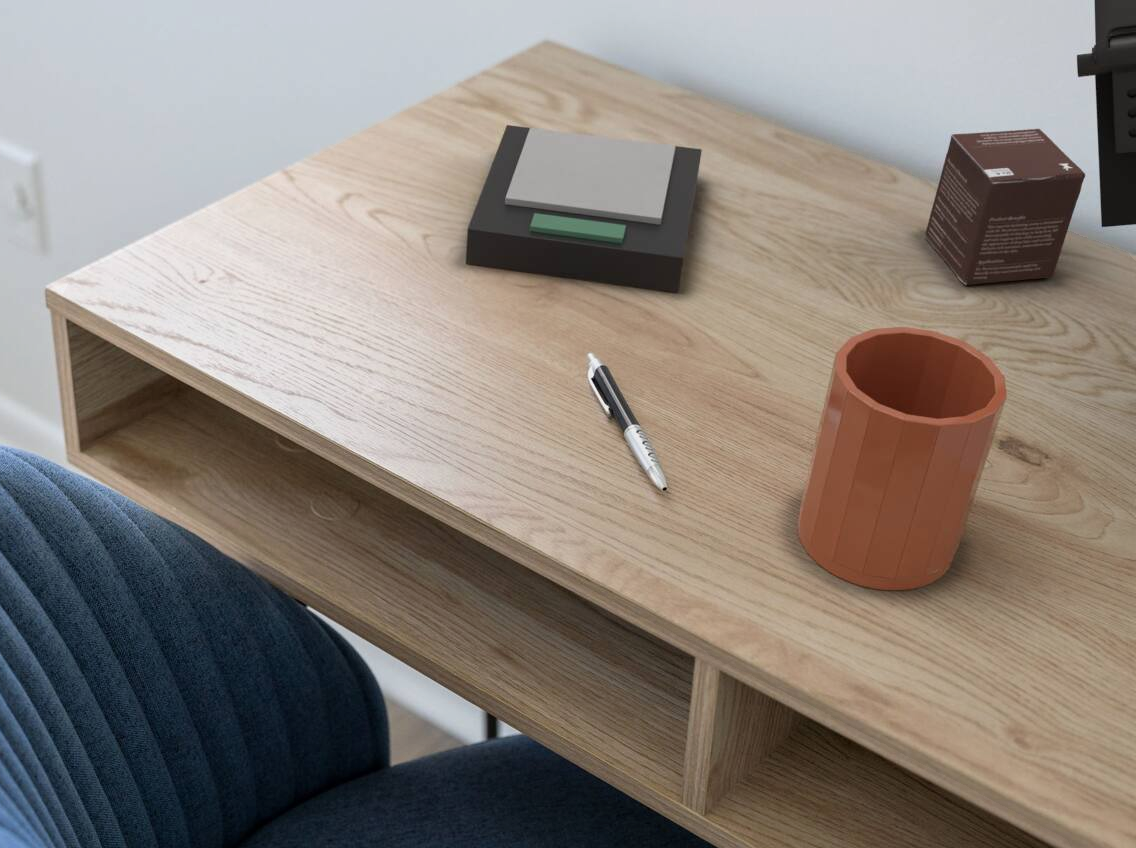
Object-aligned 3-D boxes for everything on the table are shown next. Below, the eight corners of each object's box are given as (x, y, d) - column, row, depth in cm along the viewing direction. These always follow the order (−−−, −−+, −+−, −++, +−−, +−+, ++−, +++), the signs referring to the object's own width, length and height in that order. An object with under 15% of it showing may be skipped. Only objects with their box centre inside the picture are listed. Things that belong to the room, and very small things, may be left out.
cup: (950, 502, 82) (1001, 339, 76) (956, 602, 77) (1012, 435, 70) (799, 479, 84) (836, 317, 77) (794, 576, 78) (834, 409, 71)
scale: (696, 182, 108) (703, 141, 106) (678, 293, 97) (684, 250, 95) (504, 158, 110) (507, 117, 108) (465, 264, 99) (467, 221, 97)
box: (1010, 230, 104) (1041, 126, 99) (1054, 281, 99) (1089, 174, 95) (921, 237, 103) (949, 132, 98) (962, 288, 98) (992, 180, 94)
